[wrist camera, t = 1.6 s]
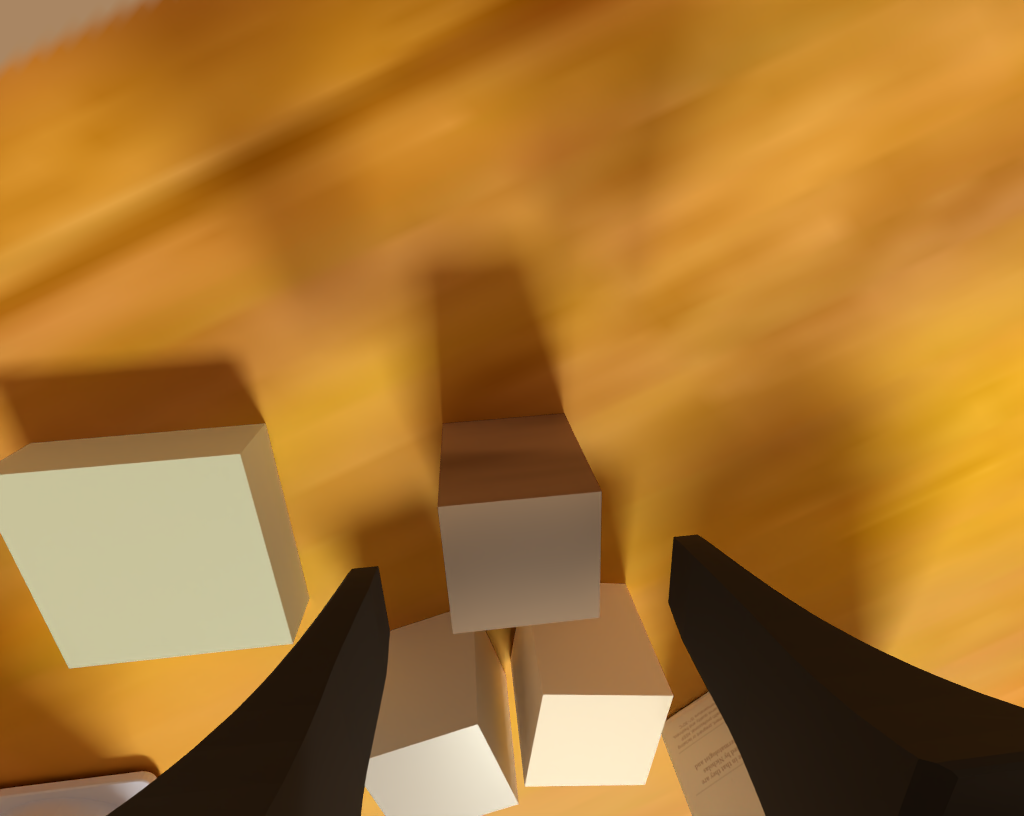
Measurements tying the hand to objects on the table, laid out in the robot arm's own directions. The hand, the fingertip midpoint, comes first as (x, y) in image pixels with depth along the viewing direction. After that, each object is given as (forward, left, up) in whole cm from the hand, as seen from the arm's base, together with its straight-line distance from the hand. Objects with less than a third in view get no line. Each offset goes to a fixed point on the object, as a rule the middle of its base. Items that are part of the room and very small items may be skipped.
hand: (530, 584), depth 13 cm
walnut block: (0, 0, -6) cm, 6 cm away
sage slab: (-1, +11, -6) cm, 13 cm away
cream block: (-7, -2, -6) cm, 9 cm away
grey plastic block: (-8, +3, -6) cm, 10 cm away
